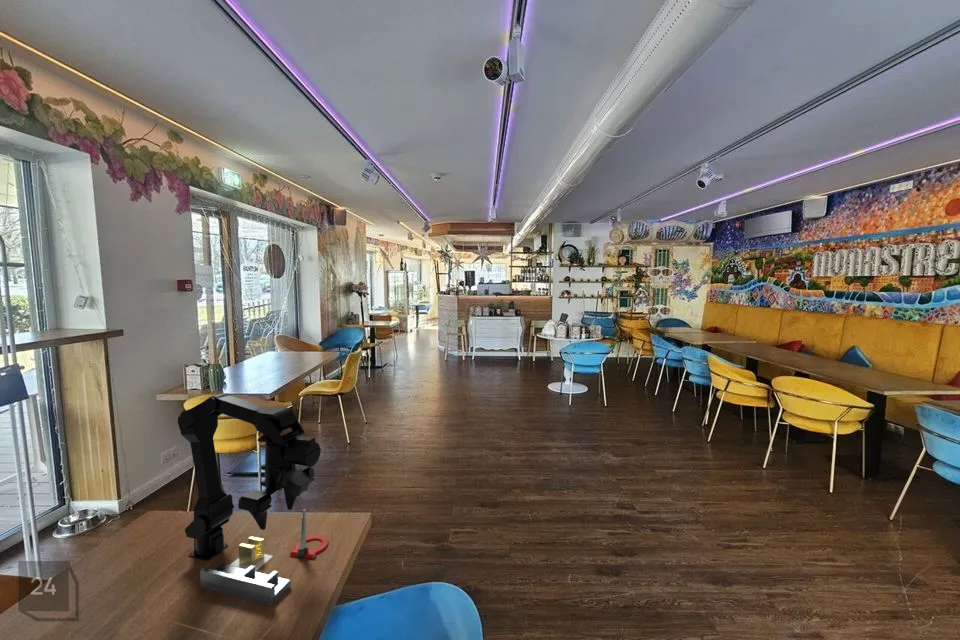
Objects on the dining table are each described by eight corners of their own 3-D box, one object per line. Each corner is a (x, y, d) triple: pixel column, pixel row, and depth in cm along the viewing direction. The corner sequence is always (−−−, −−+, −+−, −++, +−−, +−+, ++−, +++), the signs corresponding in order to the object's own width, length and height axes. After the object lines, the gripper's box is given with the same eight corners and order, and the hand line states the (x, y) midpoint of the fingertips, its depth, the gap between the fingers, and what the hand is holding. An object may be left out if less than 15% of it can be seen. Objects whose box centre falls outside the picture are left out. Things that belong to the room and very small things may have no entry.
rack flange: (200, 588, 94) (200, 570, 94) (222, 571, 100) (222, 554, 100) (271, 606, 89) (271, 587, 89) (290, 587, 95) (290, 569, 95)
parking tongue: (229, 566, 102) (229, 564, 102) (248, 551, 108) (248, 550, 108) (255, 572, 100) (255, 571, 100) (273, 557, 106) (273, 555, 106)
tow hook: (306, 537, 115) (286, 557, 106) (308, 493, 115) (287, 509, 106) (333, 541, 114) (315, 561, 105) (335, 496, 114) (317, 513, 104)
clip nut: (239, 563, 102) (238, 545, 102) (251, 554, 106) (251, 536, 106) (252, 566, 101) (251, 548, 101) (264, 556, 105) (263, 538, 105)
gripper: (277, 482, 89) (276, 548, 90) (329, 450, 107) (327, 506, 108) (236, 473, 92) (236, 538, 93) (293, 444, 110) (292, 498, 111)
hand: (277, 519), depth 101 cm, fingers open, 9 cm apart
